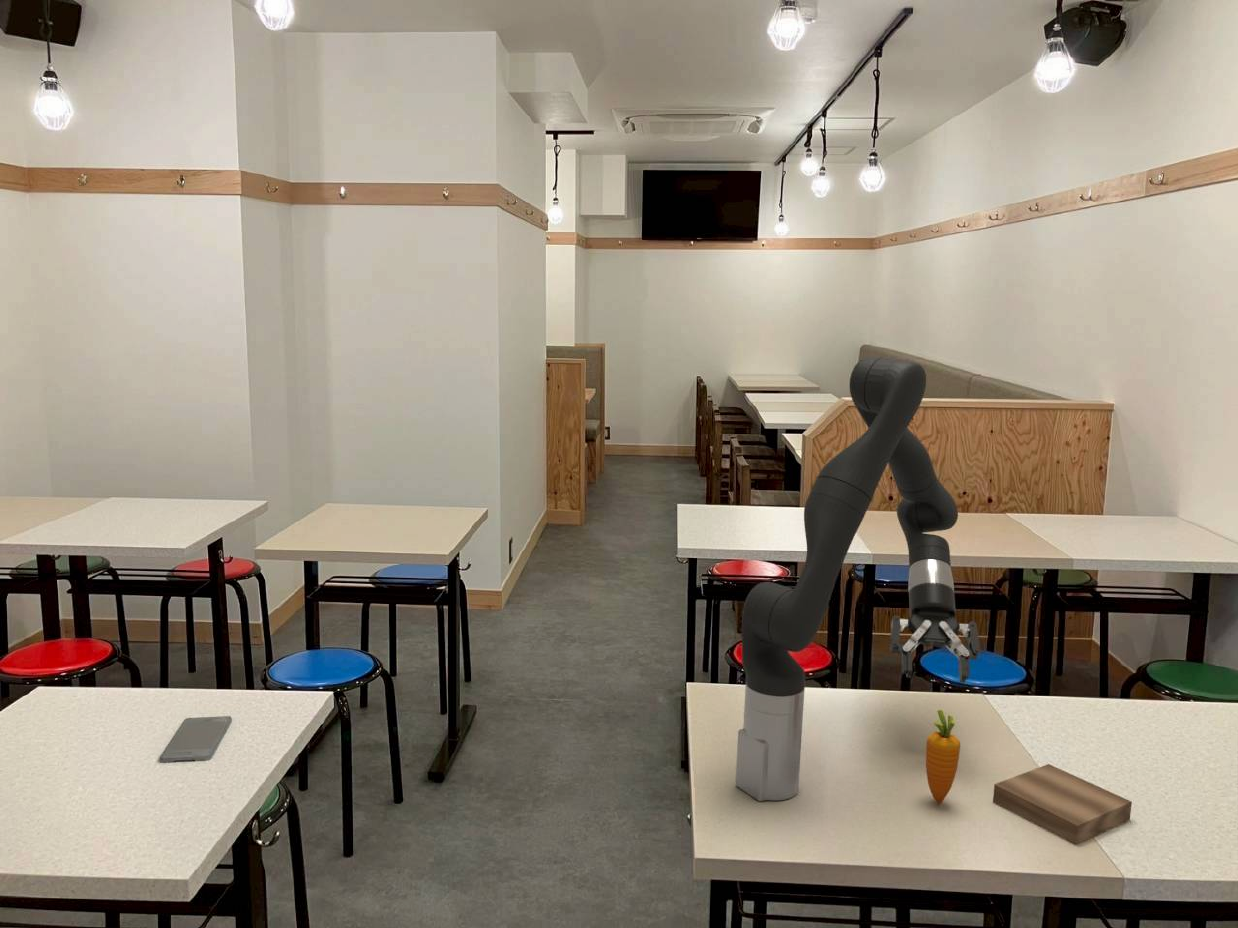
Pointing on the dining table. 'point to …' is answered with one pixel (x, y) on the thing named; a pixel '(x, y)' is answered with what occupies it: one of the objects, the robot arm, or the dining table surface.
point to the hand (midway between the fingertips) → (936, 678)
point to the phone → (196, 739)
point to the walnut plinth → (1062, 803)
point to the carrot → (942, 758)
